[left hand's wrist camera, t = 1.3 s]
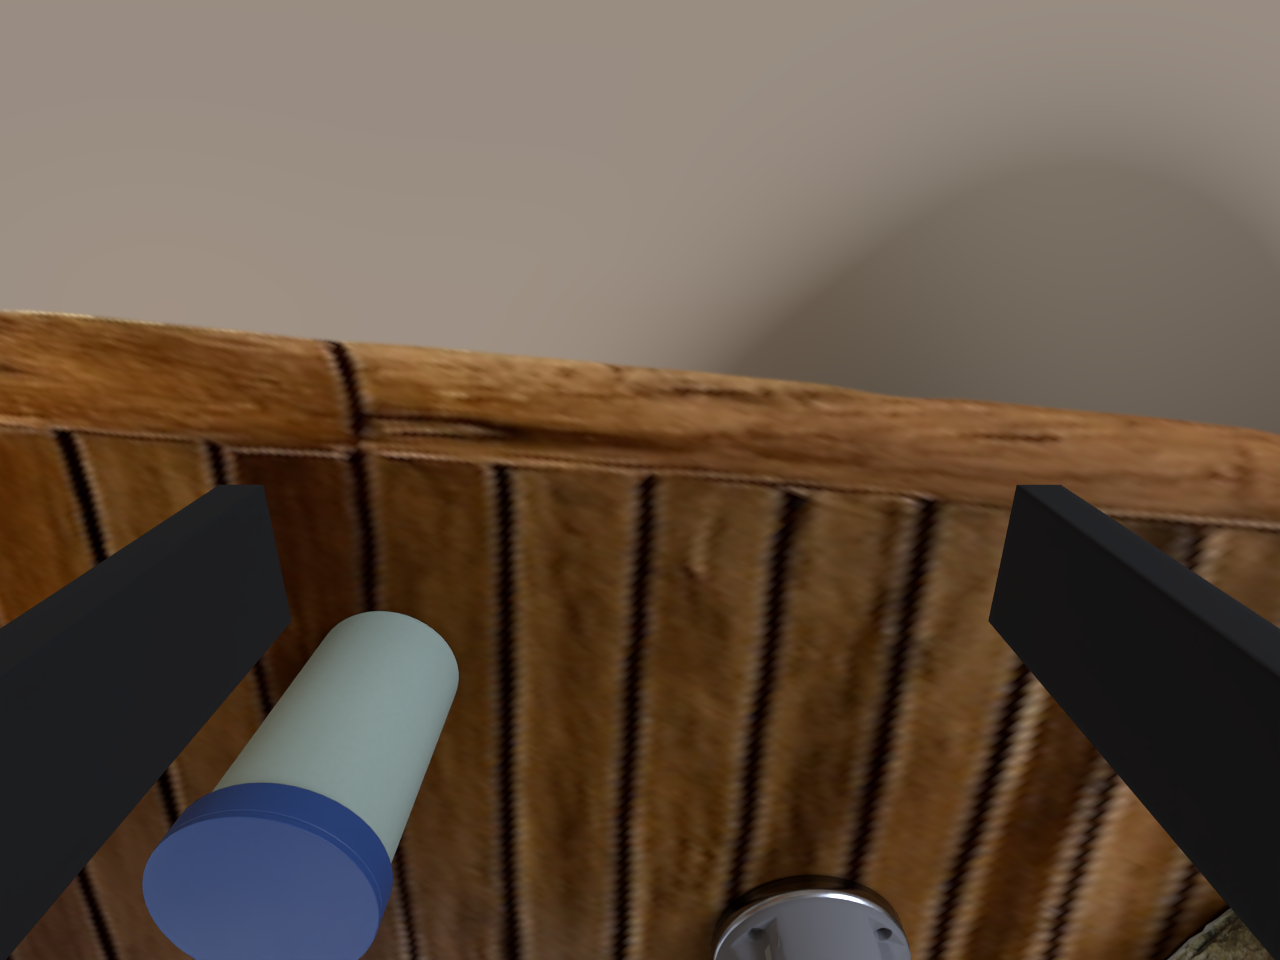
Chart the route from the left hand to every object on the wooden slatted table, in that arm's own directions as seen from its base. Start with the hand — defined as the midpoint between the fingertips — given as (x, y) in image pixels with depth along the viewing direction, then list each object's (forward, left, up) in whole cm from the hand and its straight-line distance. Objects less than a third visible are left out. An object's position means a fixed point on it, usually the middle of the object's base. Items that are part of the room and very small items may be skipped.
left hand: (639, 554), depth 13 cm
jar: (-23, +17, -28) cm, 40 cm away
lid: (-23, +17, -11) cm, 31 cm away
